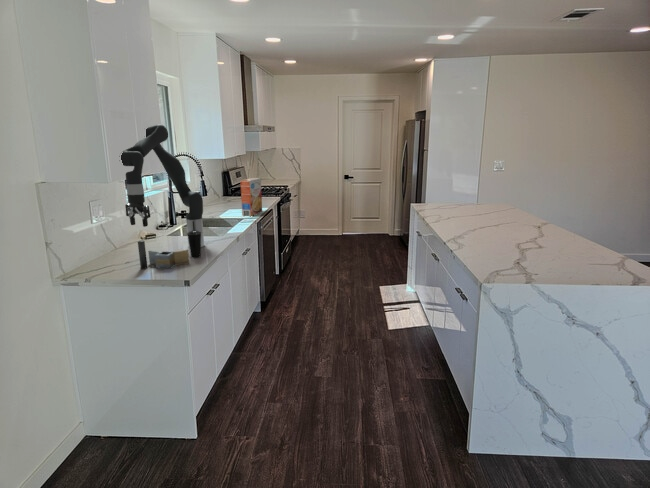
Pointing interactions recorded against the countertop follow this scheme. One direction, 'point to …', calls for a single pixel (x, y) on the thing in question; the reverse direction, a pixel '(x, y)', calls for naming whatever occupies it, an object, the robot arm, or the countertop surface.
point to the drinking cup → (195, 242)
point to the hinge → (168, 258)
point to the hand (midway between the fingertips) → (139, 225)
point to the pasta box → (251, 196)
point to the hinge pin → (142, 254)
